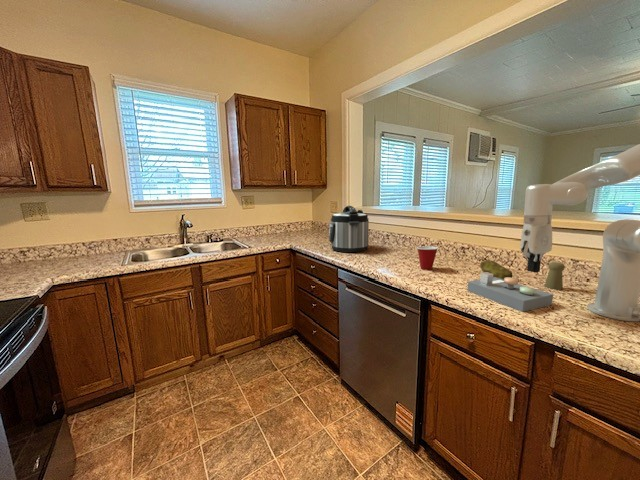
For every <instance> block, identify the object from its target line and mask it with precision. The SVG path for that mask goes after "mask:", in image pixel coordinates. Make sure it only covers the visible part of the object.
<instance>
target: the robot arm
mask: <svg viewBox="0 0 640 480" xmlns="http://www.w3.org/2000/svg"><path fill="white" fill-rule="evenodd" d="M639 176H640V143H639V144H637V145H635V146H632V147H630V148H628V149H626V150H624V151H622V152H620V153H618V154H616V155H614V156H612V157H610V158H607V159H605V160H603V161H600V162H597V163H595V164H594V165H591V166H589V167H586V168H584V169H581V170H579V171H577V172H574V173H572V174H570V175H568V176H566V177H564V178H562V179H559V180H558V181H556V182H554V183H552V184H551V183H542V184H539V183H537V184H530V185H528V186H527V187H526V189H525V194H524V197H525V198H524V211H523V212H524V213H523V226H522V232H521V235H520V236H521V238H520V246H519V247H520V252H521V253H522V257H524V258H526V261H527V267H526V271H528V272H531V273H535V274H538V273H540V271H541V261H542V259H543V256H544V255H546V254H547V253H550V252H551V251H553V250H552V249H553V227H552V219H553V207H554V206H553V205H561V206H575V205H578V204H581V203H583V202H584V201H585V200H586V199H587V198H588V196H589V191H591V190H595V189H598V188H603V187H607V186H608V187H609V186H613V185H618V184H622V183H624V182H627V181H630V180H632V179H635V178H636V177H639ZM602 244H603V245H602V247H603V248H602V249H603V251H602V260H601V265H600V270H599V277H598V283H597V289H596V293H595V299H594V302H590V303H588V304H587V310H589V311H590V312H592V313H595V314H597V315H600V316H602V317H605V318H609V319H611V320H612V319H613V320H618V321H624V322H625V321H626V322H640V303H639V301H640V220H638V219H628V218H627V219H620V220H615V221H613V222H611V223H610V224H608V225H607V226H606V227H605V229H604V230H603V233H602Z"/></svg>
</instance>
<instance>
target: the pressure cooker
mask: <svg viewBox="0 0 640 480" xmlns="http://www.w3.org/2000/svg"><path fill="white" fill-rule="evenodd" d="M368 215H369V214H366V213H364V211H363V210H362V209H358V210H357V209H356V208H355V207H354V206H352V205H347V206H345V207H344V208H343V209H342V212H340V213H333V214H331V218H330V222H329V229H328V231H329V232H328V241H329V243H330V247H331V248H332V250H334V251H336V252H340V253H353V252H354V253H355V252H364V251H365V250H367V249H368V248H369V228H370V227H369V225H370V224H369V223H370V222H369V219H370V218H368V217H369V216H368Z"/></svg>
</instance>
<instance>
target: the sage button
mask: <svg viewBox="0 0 640 480" xmlns="http://www.w3.org/2000/svg"><path fill="white" fill-rule="evenodd" d="M535 289H536V288H534V289H533V287H529V286H527V287H520V292H521V293H523V294H524V295H527V296H530V295H534V294H535Z"/></svg>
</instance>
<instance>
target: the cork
mask: <svg viewBox="0 0 640 480" xmlns="http://www.w3.org/2000/svg"><path fill="white" fill-rule="evenodd" d="M547 265H548V267H547V268H548V269H549V270H548V272H547V273H548V274H547V276H546V279H545V283H544V286H545V288H546V287H547V288H546V289H549V288H550V290H553V289H556V290H555V291H561V290H560V289H562V290H563V289H564V286H563V285H564V284H563V271H564V270H565V268H566V267H565V265H564V263H561V262H556V261H551V262H550V263H548V264H547Z"/></svg>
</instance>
